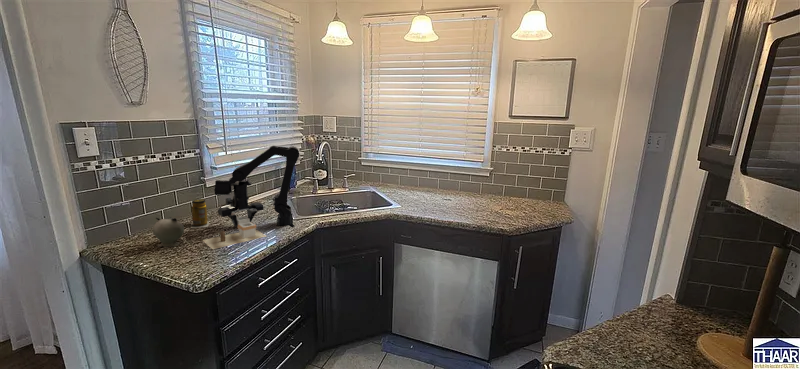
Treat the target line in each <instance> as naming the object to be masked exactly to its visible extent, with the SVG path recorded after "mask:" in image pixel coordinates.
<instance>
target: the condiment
mask: <svg viewBox="0 0 800 369" xmlns="http://www.w3.org/2000/svg"><path fill="white" fill-rule="evenodd" d="M191 203H192V205H191V215H192V216H191V217H192V222H191V223H190V228H191V229H196V228H197V229H199V228H206V227H207V228H208V227H209V226H210V224H209V223H210V221H209V220H208V211H207V205H206V199H203V198H197V199H193V200H192V202H191Z"/></svg>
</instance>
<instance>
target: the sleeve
mask: <svg viewBox="0 0 800 369" xmlns="http://www.w3.org/2000/svg"><path fill="white" fill-rule="evenodd" d="M248 222H250V219H249V218H248V216H237V228H236V229H238V230H239V228H238V224H243V223H248Z"/></svg>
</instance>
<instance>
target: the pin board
mask: <svg viewBox="0 0 800 369" xmlns="http://www.w3.org/2000/svg"><path fill="white" fill-rule="evenodd" d="M255 231H256V236H253V237H248V238H243V237H241V236H240V235H239V232H235V233H229V234H226V231H223V230H221V231H220V232H219V236H216V237H210V238H206V239H202V240H201V241H202V242H203V243H205V245H207V246H208V247H209V248H210V249H212V250H215V249H221V248H224V247H228V246H232V245H235V244H241V243H245V242H249V241H254V240H258V239H262V238H266V237H267V235H266V234H264V233H262V232H261V231H260V230H258V229H257V228H255Z"/></svg>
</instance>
